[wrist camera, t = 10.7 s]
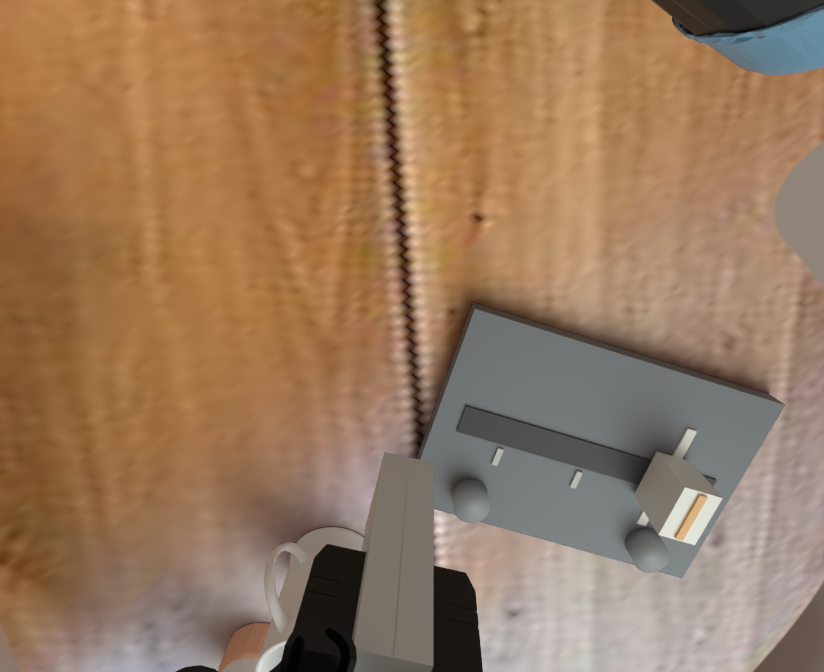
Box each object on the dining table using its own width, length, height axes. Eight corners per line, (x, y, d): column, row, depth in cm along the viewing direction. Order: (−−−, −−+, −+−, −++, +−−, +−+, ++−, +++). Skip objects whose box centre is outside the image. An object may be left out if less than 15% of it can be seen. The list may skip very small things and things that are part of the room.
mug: (257, 517, 49) (206, 625, 38) (339, 485, 48) (313, 587, 37) (315, 609, 52) (285, 734, 41) (394, 582, 51) (385, 703, 40)
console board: (472, 302, 42) (477, 316, 38) (769, 394, 44) (802, 416, 40) (405, 487, 48) (404, 515, 44) (672, 562, 50) (692, 595, 46)
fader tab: (656, 451, 43) (686, 488, 38) (690, 461, 44) (724, 499, 39) (633, 495, 45) (659, 536, 40) (666, 504, 45) (696, 547, 40)
